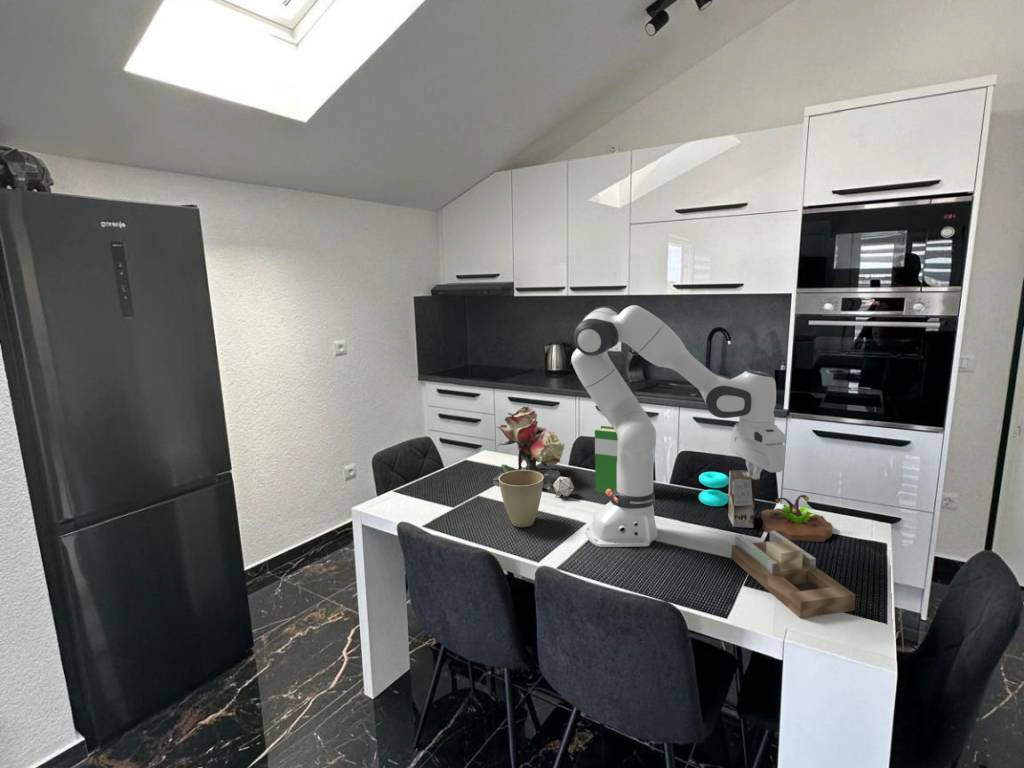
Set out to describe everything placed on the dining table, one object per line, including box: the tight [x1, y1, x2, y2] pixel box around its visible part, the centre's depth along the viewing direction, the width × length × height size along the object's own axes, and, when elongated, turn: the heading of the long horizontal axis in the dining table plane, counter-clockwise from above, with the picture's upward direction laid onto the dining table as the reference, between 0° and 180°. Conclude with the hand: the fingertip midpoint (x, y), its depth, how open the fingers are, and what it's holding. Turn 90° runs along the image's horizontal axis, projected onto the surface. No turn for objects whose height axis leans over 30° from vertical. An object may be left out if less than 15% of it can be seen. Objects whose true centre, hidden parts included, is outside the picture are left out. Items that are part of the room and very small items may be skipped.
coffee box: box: [727, 469, 757, 529], centre depth 173 cm, size 9×6×16 cm
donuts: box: [698, 471, 729, 507], centre depth 190 cm, size 10×10×10 cm
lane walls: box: [734, 531, 817, 575], centre depth 143 cm, size 12×16×3 cm
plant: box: [761, 494, 833, 543], centre depth 168 cm, size 20×20×11 cm
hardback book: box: [594, 425, 618, 494], centre depth 202 cm, size 18×7×24 cm, turn 61°
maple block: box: [766, 539, 804, 572], centre depth 139 cm, size 6×6×5 cm
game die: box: [550, 474, 577, 500], centre depth 201 cm, size 9×8×10 cm
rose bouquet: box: [492, 405, 565, 490], centre depth 220 cm, size 26×29×30 cm
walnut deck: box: [730, 540, 856, 619], centre depth 138 cm, size 14×28×4 cm, turn 9°
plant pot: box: [498, 470, 544, 528], centre depth 179 cm, size 15×15×16 cm
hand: (753, 477), depth 150 cm, fingers closed
